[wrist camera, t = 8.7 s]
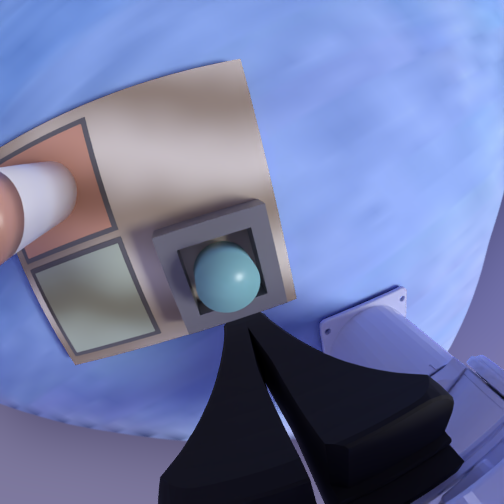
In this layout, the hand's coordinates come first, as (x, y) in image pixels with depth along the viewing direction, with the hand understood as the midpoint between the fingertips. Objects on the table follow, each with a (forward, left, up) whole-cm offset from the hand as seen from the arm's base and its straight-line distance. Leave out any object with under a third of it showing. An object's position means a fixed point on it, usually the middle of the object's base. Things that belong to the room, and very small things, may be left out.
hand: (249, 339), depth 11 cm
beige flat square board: (+3, +4, -9) cm, 10 cm away
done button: (0, 0, -8) cm, 8 cm away
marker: (+7, +8, -8) cm, 13 cm away
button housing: (0, 0, -8) cm, 8 cm away
